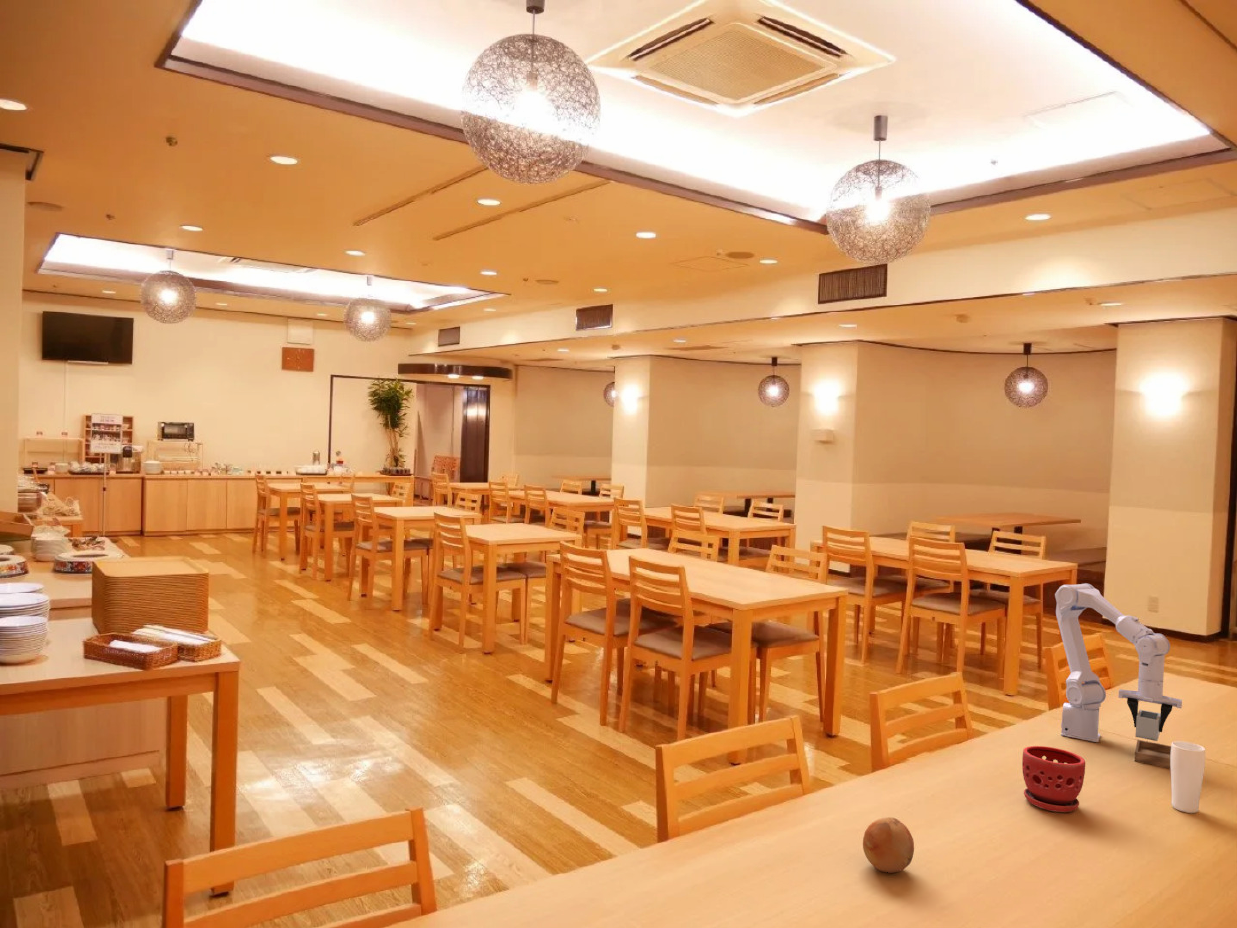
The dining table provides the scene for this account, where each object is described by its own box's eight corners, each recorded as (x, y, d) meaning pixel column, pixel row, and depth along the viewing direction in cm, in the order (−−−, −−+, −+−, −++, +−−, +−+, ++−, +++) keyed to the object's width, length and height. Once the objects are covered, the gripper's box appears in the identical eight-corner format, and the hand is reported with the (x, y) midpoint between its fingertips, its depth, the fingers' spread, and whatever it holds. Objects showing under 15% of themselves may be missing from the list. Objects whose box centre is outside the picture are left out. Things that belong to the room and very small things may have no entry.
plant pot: (1091, 819, 194) (1093, 767, 193) (1028, 812, 196) (1031, 760, 196) (1072, 796, 206) (1075, 746, 206) (1014, 789, 209) (1016, 741, 209)
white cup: (1191, 803, 204) (1195, 741, 203) (1208, 816, 197) (1212, 752, 197) (1161, 801, 205) (1165, 739, 204) (1177, 814, 198) (1180, 750, 197)
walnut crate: (1134, 761, 231) (1134, 751, 231) (1137, 748, 241) (1137, 739, 241) (1175, 769, 226) (1175, 760, 226) (1176, 755, 236) (1176, 746, 236)
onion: (872, 851, 175) (874, 803, 175) (921, 868, 169) (923, 818, 168) (852, 869, 167) (854, 819, 167) (902, 887, 161) (905, 835, 161)
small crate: (1135, 736, 230) (1136, 716, 230) (1138, 729, 237) (1139, 709, 237) (1157, 741, 227) (1158, 720, 227) (1159, 733, 234) (1160, 713, 234)
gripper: (1118, 677, 233) (1115, 726, 233) (1182, 687, 224) (1179, 738, 225) (1120, 671, 238) (1118, 720, 239) (1183, 681, 230) (1180, 731, 231)
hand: (1148, 728), depth 232 cm, fingers closed on small crate, 5 cm apart
